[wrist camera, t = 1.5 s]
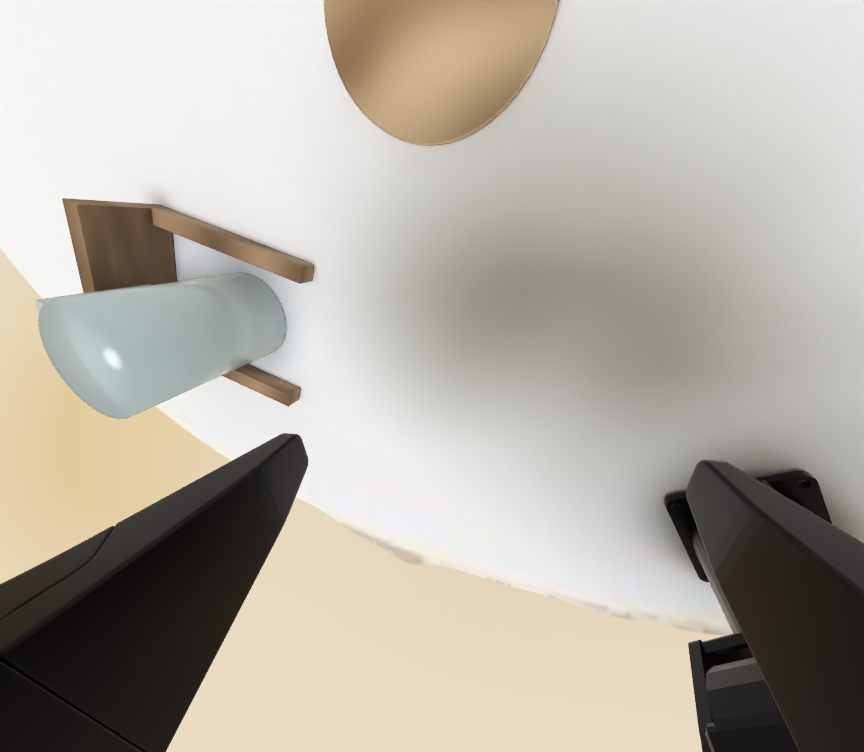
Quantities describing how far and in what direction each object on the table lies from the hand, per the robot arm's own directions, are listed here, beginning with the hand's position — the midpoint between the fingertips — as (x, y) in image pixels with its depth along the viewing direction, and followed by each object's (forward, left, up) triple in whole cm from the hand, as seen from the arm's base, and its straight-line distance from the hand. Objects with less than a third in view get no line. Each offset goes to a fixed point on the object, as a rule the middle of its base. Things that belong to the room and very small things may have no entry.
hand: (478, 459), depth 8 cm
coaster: (+14, -3, -12) cm, 19 cm away
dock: (+10, +17, -12) cm, 23 cm away
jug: (+10, +17, -12) cm, 23 cm away
